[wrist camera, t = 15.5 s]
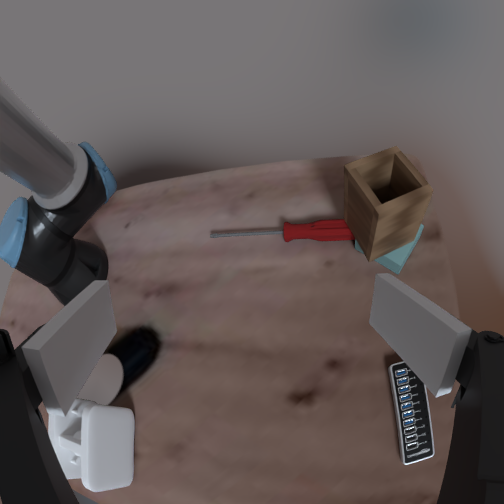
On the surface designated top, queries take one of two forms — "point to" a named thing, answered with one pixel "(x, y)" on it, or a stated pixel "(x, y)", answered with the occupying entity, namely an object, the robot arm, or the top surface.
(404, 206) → the brown tall open box
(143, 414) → the top surface
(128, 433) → the cable organizer
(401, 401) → the multiport hub
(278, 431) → the top surface
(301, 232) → the screwdriver
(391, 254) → the post stand
